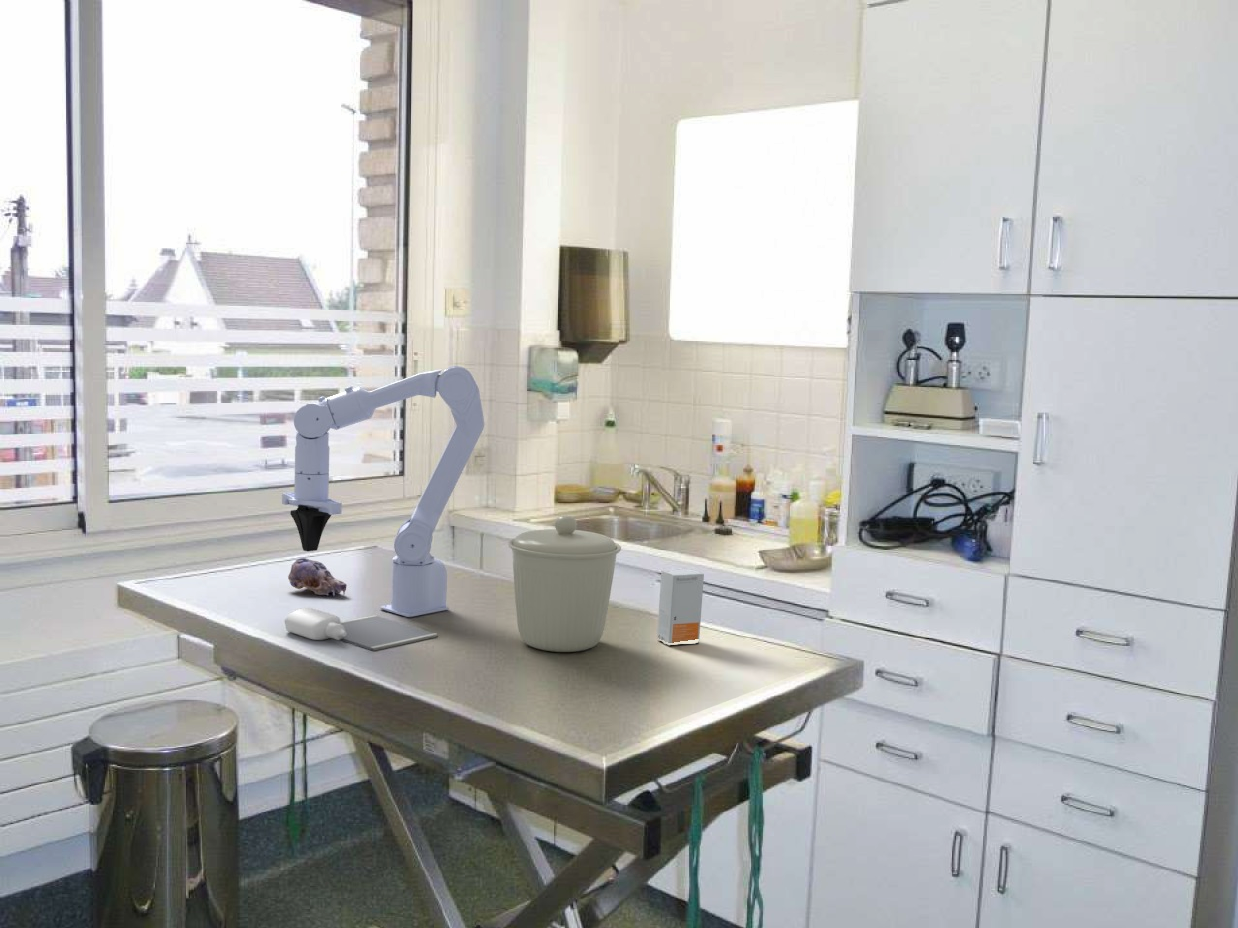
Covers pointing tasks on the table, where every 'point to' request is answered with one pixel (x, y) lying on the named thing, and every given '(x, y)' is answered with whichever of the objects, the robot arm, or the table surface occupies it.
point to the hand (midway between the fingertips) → (310, 550)
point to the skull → (314, 577)
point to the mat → (381, 633)
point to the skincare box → (680, 605)
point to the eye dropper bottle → (314, 624)
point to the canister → (562, 585)
